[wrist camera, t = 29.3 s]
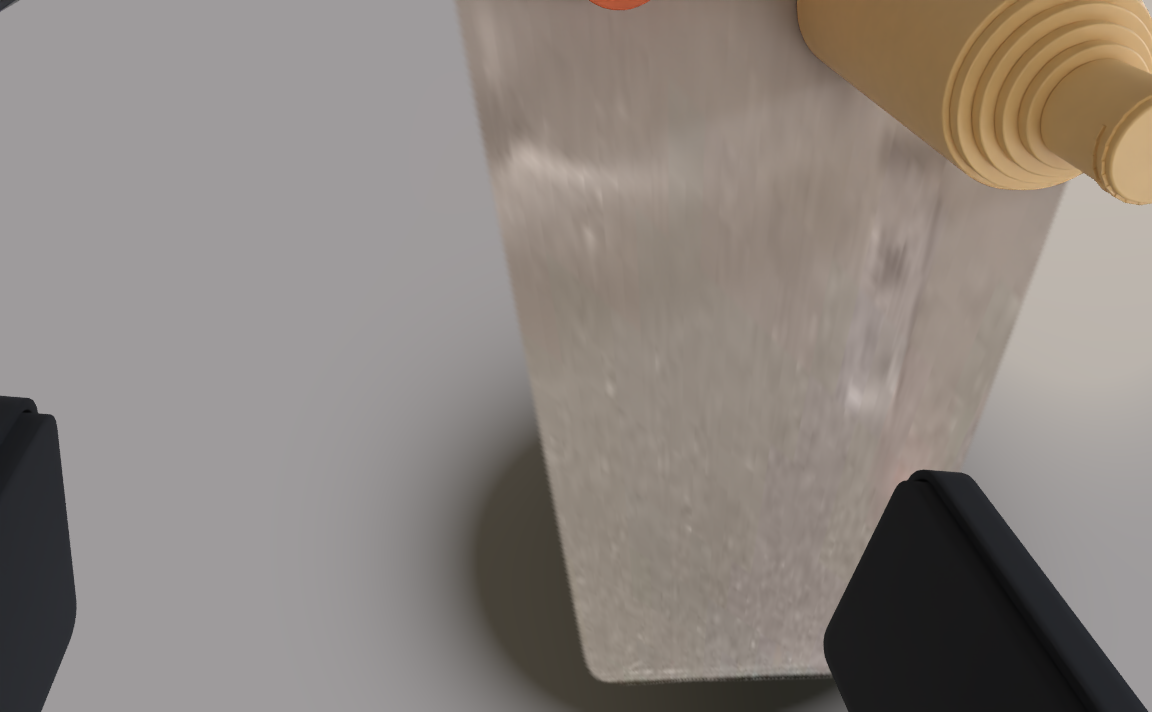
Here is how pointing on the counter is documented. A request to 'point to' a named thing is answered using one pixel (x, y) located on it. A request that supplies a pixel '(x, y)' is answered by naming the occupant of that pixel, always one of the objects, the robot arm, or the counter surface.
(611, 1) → the cap
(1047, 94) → the sauce bottle
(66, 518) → the robot arm
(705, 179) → the counter surface
